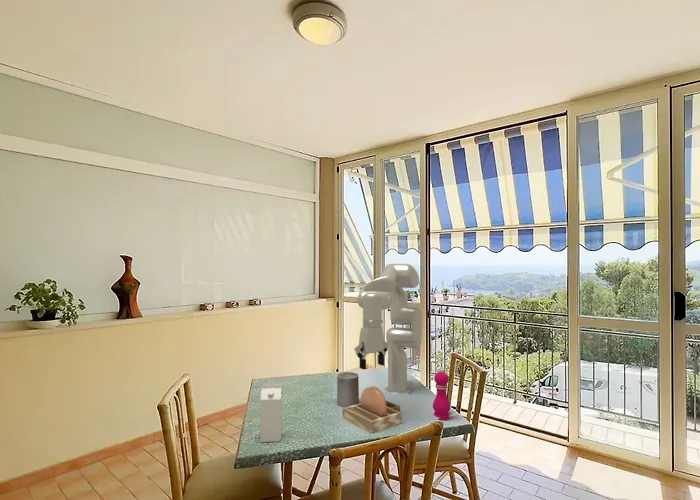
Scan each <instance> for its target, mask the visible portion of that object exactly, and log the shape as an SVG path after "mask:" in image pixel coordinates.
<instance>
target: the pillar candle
mask: <svg viewBox="0 0 700 500" xmlns="http://www.w3.org/2000/svg"><path fill="white" fill-rule="evenodd" d="M359 383H360V381H359V374H358V373H356V372H350V371H349V372H348V371H347V372H346V371H345V372H340V373H338V374H336V390H337V391H336V392H337V393H336V394H337V395H336V400H337V401H336V402H337V403H336V405H337V406H338V407H341V408H345V407H349V406H352V405H356V404H360V399H359V398H360V397H359V392H360V391H359V389H360V388H359V387H360V386H359Z"/></svg>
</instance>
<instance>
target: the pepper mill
mask: <svg viewBox="0 0 700 500" xmlns="http://www.w3.org/2000/svg"><path fill="white" fill-rule="evenodd" d="M433 379H434V382H435V389H436V396H435V397H434V400H433V403H432V409H433V411H434V412H433V415H434V417H436V418H437V420H439V421H448V420H450V413H449V412H450V411H451V403H450V400H449V397H448V394H447V390H448V386H449V385H448V383H449V381H450V377H449V375H448V374H447V373H445V371H444V369H443V368H440V369H439V372H436V373H435V374H434V377H433Z"/></svg>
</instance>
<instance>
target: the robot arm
mask: <svg viewBox="0 0 700 500" xmlns="http://www.w3.org/2000/svg"><path fill="white" fill-rule="evenodd" d="M419 283H420V276H419V273H418V272H417V270H416V269H415V267H414V266H413V265H411V264H408V263H389V264H387V265H385V267H384V268H383V270H382V271H381V273H380V275H379V277H378V278H375V279H373V280H371V281H368V282H366V283H365V284H364V285H363V286H362V288H361V289H360V291H359V293H358V295H357V304H358V307H360V308H361V309H362V327H360V332H359V339H358V345H356V347H354V352H355V355H356V356H357V358H358V359H359V369H362V370H366V369H367V359H366V358H367V355H368V354H374V353H375V354H376V353H378V354H377V365H380V366H385V356H386V353H387V386H385V388H384V391H385V392H387V393H389V394H395V395H396V394H398V395H399V394H400V395H402V394H408V395H409V394H410V393H411V389H410V388H409V387H411V386H413V385H415V383H414V381H413V380H411V381H408V355H407V352H406V351H405V349H404V348H406V349H419V348H420V347H421V345H422V339H423V336H422V335H423V313H422V309H421V308H420V307H419V306H414V305H408V300H409V299H408V298H409V297H408V294H407V292H406V291H405V290H404V289H405V288H406V289H415V288H417V287H418V286H419ZM389 308H390V312H389V315H390V316H389V318H390V323H392V324H394V325H398V326H399V325H400V326H410V327H411V328H410V327H398V326H397V327H390V328H389V329H387V331H386V333H385V334H384V329H383V326H382V324H383V323H384V321H383V319H382V311H383V310H388V309H389ZM385 338H386V341H385Z"/></svg>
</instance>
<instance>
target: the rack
mask: <svg viewBox="0 0 700 500" xmlns="http://www.w3.org/2000/svg"><path fill="white" fill-rule="evenodd" d="M342 420H344V421H347V422H348V423H351V424H352V425H354V426H356V427H358V428H360V429H362V430H364V431H366V432H367V433H370V434H374V433H376V432H381V431H382V430H385V429H389V428H392V427H395V426H399V425H400V424H403V413H402V411H400V412H399V411H397V410H394V409H392V408H389V407H387V411H386V415H385V417H380V416H377V415H375V414H373V413H371V412H369V411H366V410H364V409H362V407H361V402H359V404H356V405H352V406H349V407H342Z"/></svg>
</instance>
